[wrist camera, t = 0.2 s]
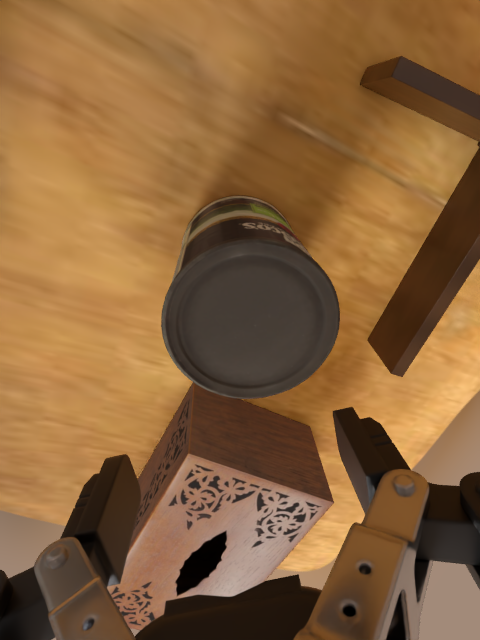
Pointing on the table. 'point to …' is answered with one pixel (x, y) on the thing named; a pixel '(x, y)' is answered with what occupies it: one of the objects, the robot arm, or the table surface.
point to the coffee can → (247, 303)
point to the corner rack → (451, 227)
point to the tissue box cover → (219, 504)
